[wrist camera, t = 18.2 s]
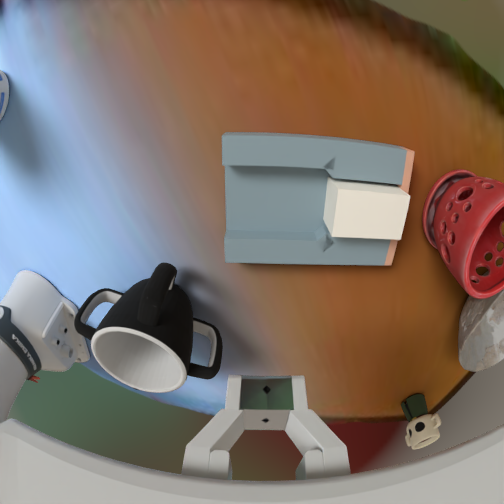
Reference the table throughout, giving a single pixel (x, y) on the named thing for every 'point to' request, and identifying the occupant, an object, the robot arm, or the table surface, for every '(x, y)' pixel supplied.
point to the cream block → (365, 209)
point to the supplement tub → (3, 93)
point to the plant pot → (467, 228)
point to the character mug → (420, 422)
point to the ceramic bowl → (481, 332)
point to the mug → (149, 334)
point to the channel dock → (301, 196)
